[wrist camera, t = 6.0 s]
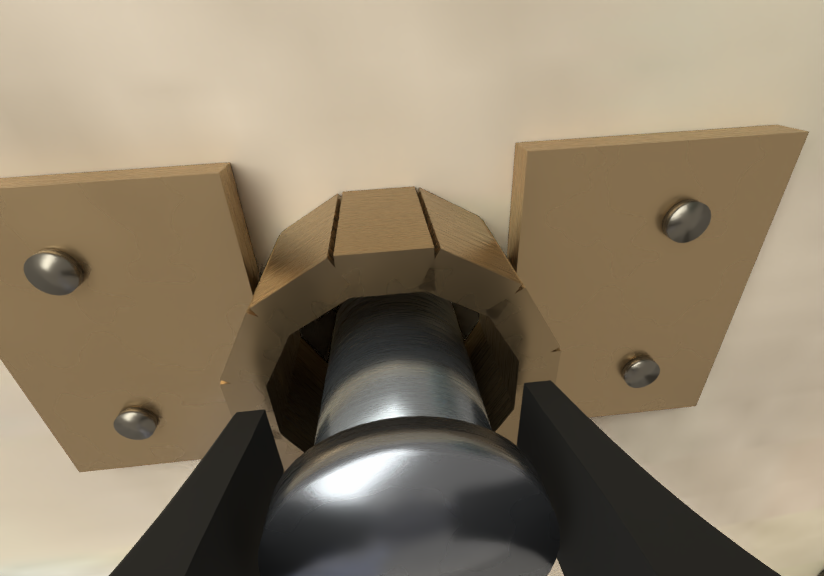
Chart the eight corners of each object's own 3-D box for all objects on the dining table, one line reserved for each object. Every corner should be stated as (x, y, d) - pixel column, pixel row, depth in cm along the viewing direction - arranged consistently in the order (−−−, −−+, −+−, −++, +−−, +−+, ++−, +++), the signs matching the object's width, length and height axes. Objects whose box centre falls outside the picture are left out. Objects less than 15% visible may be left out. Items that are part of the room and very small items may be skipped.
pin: (471, 379, 16) (545, 625, 9) (328, 391, 15) (288, 653, 8) (473, 247, 13) (578, 440, 6) (305, 259, 13) (222, 472, 6)
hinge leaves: (679, 387, 17) (757, 475, 14) (95, 448, 16) (20, 562, 12) (777, 125, 12) (941, 160, 9) (-75, 183, 11) (-283, 252, 7)
